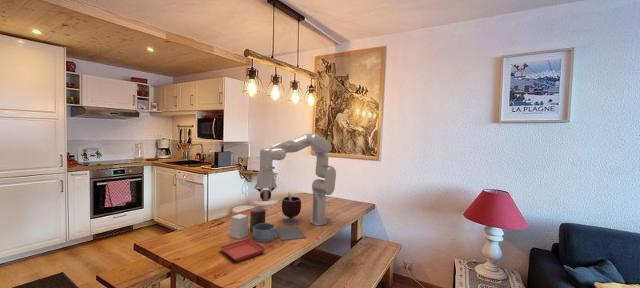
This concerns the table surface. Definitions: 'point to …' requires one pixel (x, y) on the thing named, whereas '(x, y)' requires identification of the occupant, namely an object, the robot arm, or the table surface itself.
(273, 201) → the lid
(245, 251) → the plant saucer
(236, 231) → the supplement box
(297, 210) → the mate gourd
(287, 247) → the table surface
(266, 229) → the bowl
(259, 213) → the grey cylinder
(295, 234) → the mat
